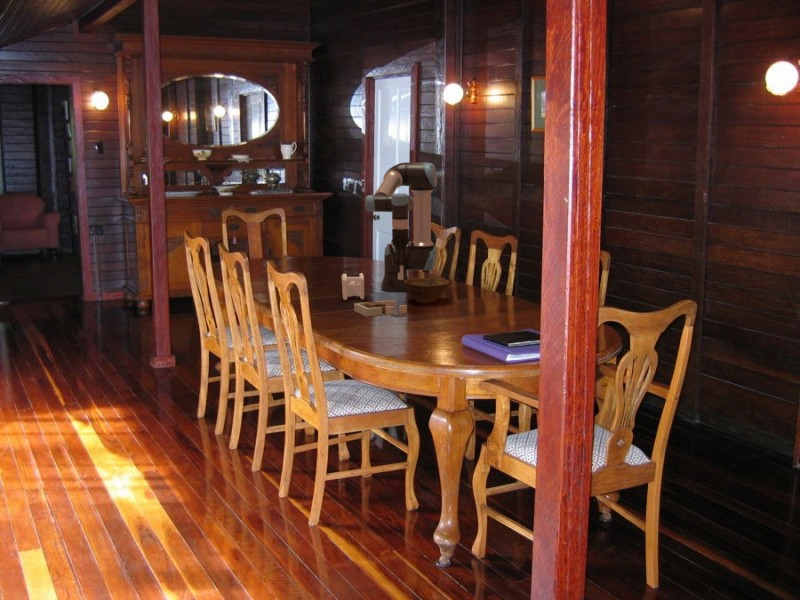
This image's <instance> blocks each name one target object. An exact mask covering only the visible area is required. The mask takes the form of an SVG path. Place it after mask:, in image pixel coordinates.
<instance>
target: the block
mask: <svg viewBox="0 0 800 600" xmlns="http://www.w3.org/2000/svg"><path fill="white" fill-rule="evenodd" d="M368 302H369V303H366V307H367V308H375V307H382V315H383V314H385V307H386V304H385V303H382V302H377V301H372V302H371V301H368Z"/></svg>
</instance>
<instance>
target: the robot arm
mask: <svg viewBox="0 0 800 600" xmlns="http://www.w3.org/2000/svg"><path fill="white" fill-rule="evenodd" d="M382 178H383V180H382V182H381V183H380V185H379V186H378V188H377V190H376V191H375V192H374V195H373V194H371V195H370V194H369V195H367V196H366V197H365V199H364V201H365V202H364V204H365V205H364V206H365V210H366V211H367V212H371V213H372V212H373V213H379V212H380V213H391V227H392V229H391V237H392V239H391V242H390V243H387V244H386V246H385V248H384V254H383V256H384V258H383V259H384V262H383V263H384V266H383V267H384V275H383V279H382V281H381V285H380V290H381V291H385V292H391V293H395V292H396V293H397V292H398V293H399V292H401V293H402V292H407V291H408V289H407V287H406V285H405V282H404V281H405V280H407V279H409V275H408V271H424V272H425V271H432V270H433V269H434V268H435V266H436V263H437V262H436V261H437V257H438V248H437V247H434V245H435V244H434V242H433V241H432V233H431V232H432V228H431V227H432V225H431V224H432V223H431V222H432V220H431V219H432V210H431V209H432V207H431V205H432V204H431V203H432V202H431V201H432V197H431V195H432V192H433V191H434V190H435V187H437V186H438V173H437V169H436V166H435V164H434V163H431V162H426V161H424V162H423V161H421V162H404V161H403V162H400V163H397V164H395V165H393V166H392V167H389V168H388V169H387V170H386V172H385V173H384V175H383V177H382ZM400 187H410V192H412V193H413V197H412V196H411V195H409V194H407V193H395V191H396V190H397V189H398V188H400ZM412 210H413V241H411V240H410V237H409V236H410V235H409V234H410V231H409V226H410V225H409V222H410V221H409V212H411V211H412ZM408 292H409V291H408Z"/></svg>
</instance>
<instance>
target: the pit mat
mask: <svg viewBox="0 0 800 600" xmlns="http://www.w3.org/2000/svg"><path fill="white" fill-rule="evenodd" d="M390 316H392V317H394V318H402V317H403V318H404V317H410V316H411V315H410V314H408V313H395V314H394V313H393V314H391V315H390Z"/></svg>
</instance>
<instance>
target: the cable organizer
mask: <svg viewBox="0 0 800 600" xmlns="http://www.w3.org/2000/svg"><path fill="white" fill-rule="evenodd" d="M364 277H365V276H364V273H363V272H361V273H360V272H359V276H348V275H347V274H346V273H342V274H341V286H342V288H341V289H342V290H341V291H342V292H341V293H342V299H343V300H344V301H347V300H348V297H353V296H354V297H355V296H356V297H360V300H361V301H363V300H365V278H364Z"/></svg>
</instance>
